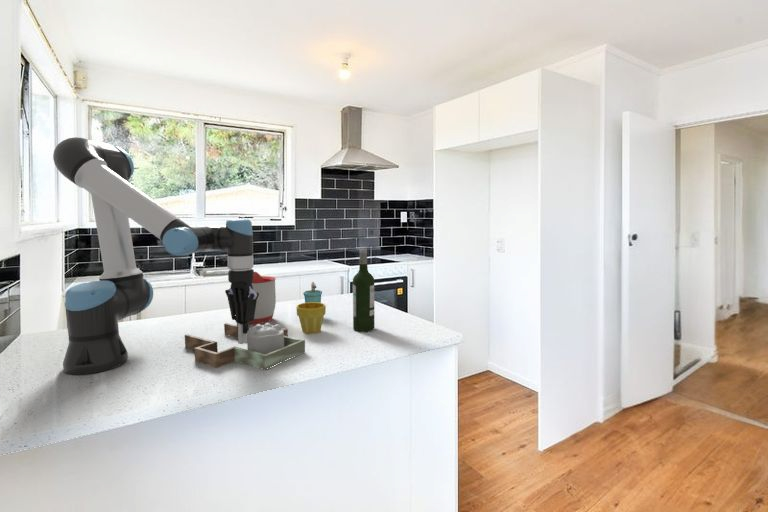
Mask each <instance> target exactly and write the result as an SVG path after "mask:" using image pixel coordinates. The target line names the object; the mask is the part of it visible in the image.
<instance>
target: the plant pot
mask: <svg viewBox="0 0 768 512" xmlns="http://www.w3.org/2000/svg"><path fill="white" fill-rule="evenodd" d="M326 306H327V305H326V304H325V303H323V302H321V303H319V302H307V303H305V302H303V303H299V304H298V305H296V316H297V317H298V319H299V324H300V327H301V332H302V333H303V334H307V335H310V334H311V335H313V334H318V333H321V331H322V325H323V320H324V316H325V315H326V310H327V309H326V308H327V307H326Z"/></svg>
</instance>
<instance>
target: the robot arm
mask: <svg viewBox="0 0 768 512" xmlns="http://www.w3.org/2000/svg"><path fill="white" fill-rule="evenodd" d="M52 155H53V156H52V160H53V162H54V165H55V168H56V170H58V171H59V172H60V174H61V175H62V176H63V177H65V178H66V179H68V180H69V181H70V182H71V183H73V184H74V185H76V186H77V187H79V188H82V189H84V190H85V191H87V192H88V193H89V194H90V195H91V200H92V208H93V214H94V220H95V224H96V225H95V226H96V230H97V231H96V232H97V238H98V242H99V243H98V244H99V249H100V255H101V262H102V267H103V273H102V274H101V275H99V280H95V281H94V280H92V281H89V282H83V283H79V284H76V285H73V286H71V287H70V288H68V289H67V290H66V291H65V294H64V298H65V299H64V308H65V317H66V325H67V335H68V345H67V348H66V352H65V354H64V357H63V361H62V366H63V367H62V370H63V372H64V373H65V374H68V375H88V374H95V373H100V372H105V371H108V370H113V369H115V368H117V367H119V366H122V365H124V364H126V362H127V361H128V360H129V355H128V354H129V353H128V350H127V348H126V345H125V344H124V342H123V339H122V337H121V336H120V331H119V321H121V320H123V319H126V318H128V317H132V316H134V315H137V314H139V313H141V312H143V311H144V310H146V309H147V308H148V307H150V305H151V303H152V301H153V298H154V288H153V285H152V284H151V282H150V281H148V279H146V278H144V273H143V271H142V270H141V269H139V268H138V267H137V265H136V257H135V252H134V245H133V238H132V233H131V232H132V231H131V227H130V225H131V224H130V220H129V219H131V220H132V221H134V222H135V223H136V224H138V225H139V226H140V227H142V228H144V229H145V230H146V231H148V232H149V233H150V234H152V235H154V237H156V238H157V239H159V240H161V241H162V245H163V246H164V247H163V248H164V249H165V250H166V252H167V253H169V254H170V255H173V256H177V257H178V256H188V255H189V256H190V255H192V254H195V253H196V254H197V253H201V252H205V251H226V253H227V258H226V259H227V269H229V270H228V271H227V278H228V282H229V283H230V287H229V289H225V291H224V292H225V295H226V297H227V302H228V305H229V310H230V316H231V317H230V318H231V319H232V321H235V323H236V325H237V331H238V338H237V339H238V344H239V345H244V344H246V343H247V331H248V330H249V328H250V324H249V322H251V321H254V315H255V308H256V302H257V298H258V296H259V293H258V292H257V293H255V292H254V291H253V286H252V281H253V280H254V272H255V271H254V269H253V268H254V242H253V241H254V239H253V237H254V233H253V225H252V224H253V223H252V221H251V220H249V219H248V218H247V219H245V218H244V219H242V218H241V219H240V218H239V219H232V218H230V219H227V220H226V222H225V225H204V224H200V225H199V224H198V225H197V224H196V225H189V224H188V223H185V222H184V221H183V220H181V219H180V218H179V217H177V216H176V215H175V214H173V213H172V212H170V211H169V210H168V209H166V208H165V207H163V206H162V205H160V204H159V203H158V202H156V201H155V200H154V199H152V198H151V197H150V196H148V195H147V194H146V193H144V192H143V191H141V190H140V189H138V188H137V187H135V186H134V185H133V184H131V183H130V182H129V180H130V179H131V178H132V176H133V175H134V172H135V166H134V162H133V159H132V157H131V156H130V155H129V153H128V152H127V151H126V150H124V149H123V148H121V147H119V146H116V145H114V144H112V143H109V142H101V141H96V140H92V139H88V138H84V137H67V138H66V139H64V140H62V141H61V142H59V143H58V144H57V145H56V146H55V148H54V150H53V154H52Z"/></svg>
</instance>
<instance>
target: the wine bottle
mask: <svg viewBox="0 0 768 512" xmlns="http://www.w3.org/2000/svg"><path fill="white" fill-rule="evenodd" d="M352 315H353V316H352V320H353V321H352V323H353V324H352V329H353V330H354V331H355V332H357V331H358V332H357V333H369V332H368V331H370V332H373V331H374V330H375V277H374V276H373V275H372V274H371V273H370V272H369V270H368V249H367V248H359V269H358V272H357V273H356V274H355V275H354V276H353V277H352Z"/></svg>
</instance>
